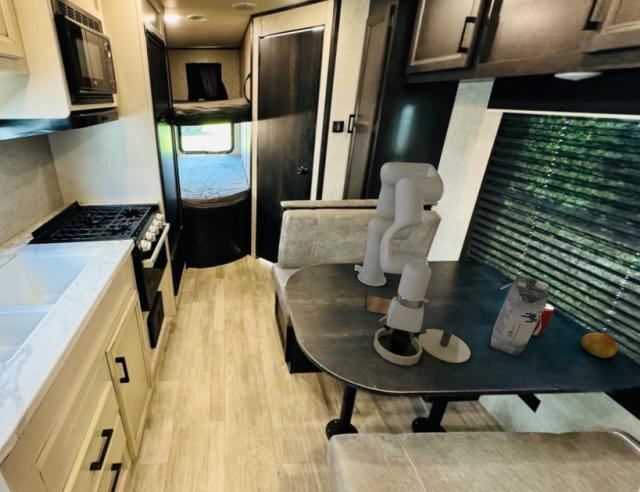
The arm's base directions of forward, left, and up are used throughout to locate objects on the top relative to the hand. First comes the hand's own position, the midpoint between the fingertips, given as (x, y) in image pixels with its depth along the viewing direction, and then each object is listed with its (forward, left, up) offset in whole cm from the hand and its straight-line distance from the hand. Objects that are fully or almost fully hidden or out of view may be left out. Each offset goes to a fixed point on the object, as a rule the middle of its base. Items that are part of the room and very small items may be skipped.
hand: (397, 342), depth 107 cm
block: (0, 0, -3) cm, 3 cm away
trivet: (-14, +20, -3) cm, 25 cm away
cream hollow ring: (0, 0, -3) cm, 3 cm away
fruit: (+48, +47, -3) cm, 67 cm away
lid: (+11, +13, -3) cm, 17 cm away
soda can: (+32, +45, -3) cm, 55 cm away
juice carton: (+26, +29, -3) cm, 39 cm away
